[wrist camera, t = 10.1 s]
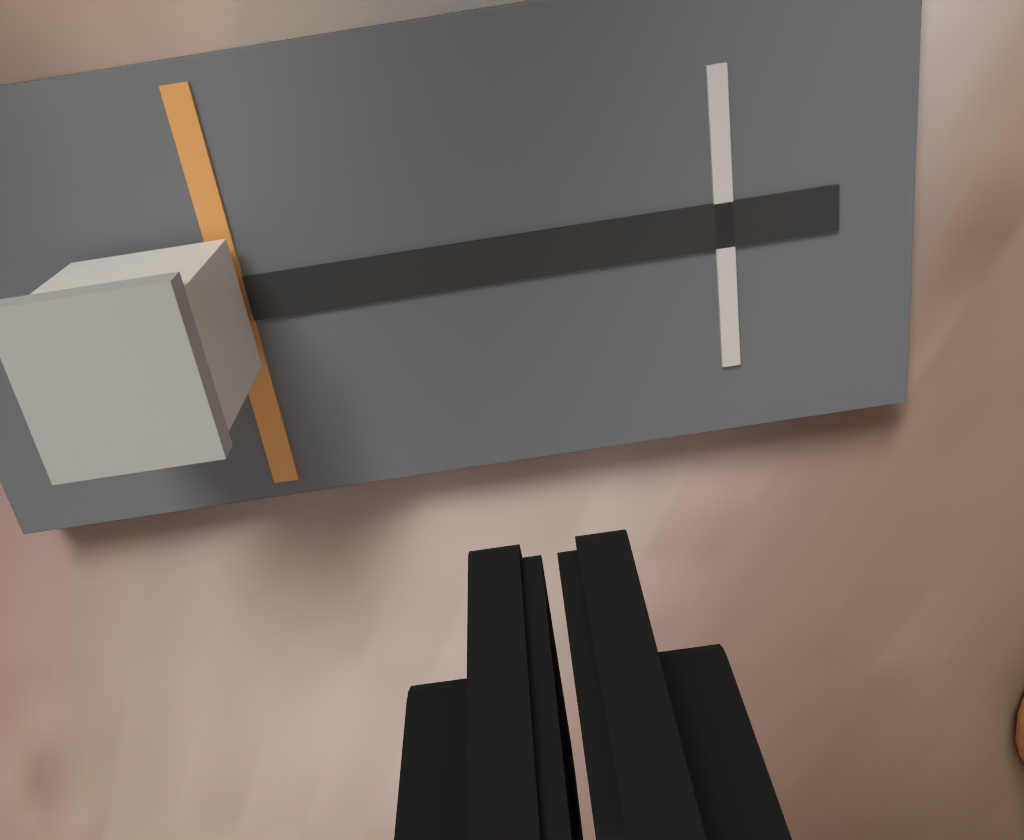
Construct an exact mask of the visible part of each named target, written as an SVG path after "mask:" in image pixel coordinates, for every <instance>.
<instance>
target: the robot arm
mask: <svg viewBox="0 0 1024 840" xmlns="http://www.w3.org/2000/svg"><path fill="white" fill-rule="evenodd" d="M575 539H576V547H577V550H574V551H567V552H560V553H557V555H558V562H559V570H560V577H561V584H562V592H563V599H564V606H565V614H566V621H567V629H568V636H569V643H570V651H571V658H572V666H573V673H574V680H575V688H576V695H577V702H578V710H579V717H580V725H581V732H582V739H583V747H584V754H585V762H586V769H587V776H588V784H589V791H590V798H591V806H592V813H593V821H594V828H595V835H596V840H792V838H791V836H790V833H789V830H788V827H787V824H786V821H785V819H784V816H783V813H782V810H781V807H780V805H779V802H778V799H777V796H776V793H775V790H774V788H773V785H772V782H771V779H770V776H769V774H768V771H767V768H766V765H765V762H764V759H763V757H762V754H761V751H760V748H759V745H758V743H757V740H756V737H755V734H754V731H753V728H752V726H751V723H750V720H749V717H748V714H747V712H746V709H745V706H744V703H743V700H742V697H741V695H740V692H739V689H738V686H737V683H736V680H735V678H734V675H733V672H732V669H731V666H730V664H729V661H728V658H727V656H726V653H725V651H724V649H723V647H722V646H721V645H720V644H716V645H708V646H701V647H694V648H686V649H679V650H672V651H664V652H658V651H657V647H656V643H655V639H654V635H653V631H652V627H651V624H650V620H649V616H648V612H647V608H646V604H645V600H644V597H643V593H642V589H641V585H640V581H639V577H638V573H637V569H636V566H635V562H634V558H633V554H632V550H631V546H630V542H629V539H628V535H627V532H626V530H618V531H611V532H604V533H597V534H590V535H583V536H576V537H575ZM394 840H583V834H582V826H581V817H580V809H579V801H578V793H577V784H576V776H575V768H574V761H573V754H572V747H571V740H570V734H569V727H568V721H567V715H566V708H565V702H564V696H563V689H562V683H561V677H560V670H559V664H558V658H557V651H556V645H555V639H554V632H553V626H552V620H551V613H550V607H549V601H548V595H547V588H546V582H545V576H544V569H543V563H542V557H541V555H539V556H532V557H525V558H522V554H521V549H520V545H512V546H505V547H498V548H491V549H483V550H476V551H470V552H469V555H468V624H467V679H459V680H452V681H445V682H437V683H430V684H423V685H415V686H411V687H410V689H409V691H408V697H407V704H406V715H405V726H404V737H403V748H402V759H401V770H400V781H399V792H398V803H397V814H396V825H395V836H394Z"/></svg>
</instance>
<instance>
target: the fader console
mask: <svg viewBox="0 0 1024 840" xmlns="http://www.w3.org/2000/svg"><path fill="white" fill-rule="evenodd" d="M921 6H922V0H531V1H525V2H518V3H512V4H506V5H500V6H493V7H487V8H481V9H475V10H469V11H462V12H456V13H450V14H444V15H437V16H431V17H425V18H419V19H412V20H406V21H400V22H394V23H388V24H381V25H375V26H369V27H363V28H356V29H350V30H344V31H338V32H332V33H325V34H319V35H313V36H307V37H300V38H294V39H288V40H282V41H275V42H269V43H263V44H257V45H251V46H244V47H238V48H232V49H226V50H219V51H213V52H207V53H201V54H194V55H188V56H182V57H176V58H170V59H163V60H157V61H151V62H145V63H138V64H132V65H126V66H120V67H114V68H107V69H101V70H95V71H89V72H82V73H76V74H70V75H64V76H57V77H51V78H45V79H39V80H33V81H26V82H20V83H14V84H8V85H1V86H0V299H5V298H12V297H18V296H24V295H29V294H31V293H32V292H33V291H35V290H36V289H37V288H39V287H40V286H41V285H43V284H44V283H45V282H47V281H48V280H49V279H50V278H52V277H53V276H54V275H56V274H57V273H58V272H60V271H61V270H62V269H64V268H65V267H66V266H68V265H69V264H70V263H74V262H80V261H87V260H93V259H99V258H106V257H112V256H119V255H125V254H131V253H138V252H144V251H151V250H157V249H163V248H170V247H176V246H183V245H189V244H195V243H202V242H208V241H215V240H221V239H226V240H227V243H228V247H229V250H230V254H231V257H232V261H233V264H234V268H235V272H236V275H237V279H238V282H239V286H240V289H241V293H242V296H243V300H244V304H245V307H246V311H247V314H248V318H249V321H250V325H251V328H252V332H253V336H254V339H255V343H256V346H257V350H258V353H259V357H260V360H261V364H262V367H261V369H260V371H259V373H258V375H257V377H256V379H255V380H254V382H253V384H252V386H251V388H250V390H249V392H248V394H247V396H246V398H245V400H244V402H243V404H242V406H241V408H240V410H239V412H238V414H237V416H236V418H235V420H234V422H233V424H232V426H231V428H230V430H229V434H230V437H231V441H232V444H233V446H232V448H231V450H230V452H229V454H228V456H227V458H226V459H223V460H216V461H210V462H203V463H197V464H190V465H183V466H177V467H170V468H163V469H157V470H150V471H144V472H137V473H130V474H124V475H117V476H111V477H104V478H97V479H91V480H84V481H77V482H71V483H64V484H58V485H52V483H51V481H50V479H49V476H48V474H47V471H46V469H45V466H44V464H43V461H42V459H41V457H40V454H39V452H38V449H37V447H36V444H35V442H34V439H33V437H32V435H31V432H30V430H29V427H28V425H27V422H26V420H25V417H24V415H23V413H22V410H21V408H20V405H19V403H18V400H17V398H16V395H15V393H14V391H13V388H12V386H11V383H10V381H9V378H8V376H7V373H6V371H5V369H4V366H3V364H2V361H1V359H0V481H1V484H2V486H3V488H4V491H5V493H6V495H7V497H8V500H9V502H10V504H11V507H12V509H13V511H14V514H15V516H16V518H17V520H18V523H19V525H20V527H21V530H22V532H23V534H29V533H35V532H42V531H49V530H55V529H62V528H69V527H75V526H82V525H89V524H95V523H102V522H109V521H115V520H122V519H129V518H135V517H142V516H149V515H155V514H162V513H169V512H175V511H182V510H189V509H195V508H202V507H209V506H215V505H222V504H229V503H235V502H242V501H249V500H255V499H262V498H269V497H275V496H282V495H289V494H295V493H302V492H309V491H315V490H322V489H329V488H335V487H342V486H349V485H355V484H362V483H369V482H375V481H382V480H389V479H395V478H402V477H409V476H415V475H422V474H429V473H435V472H442V471H449V470H455V469H462V468H469V467H475V466H482V465H489V464H495V463H502V462H509V461H515V460H522V459H529V458H535V457H542V456H549V455H555V454H562V453H569V452H575V451H582V450H589V449H595V448H602V447H609V446H615V445H622V444H629V443H635V442H642V441H649V440H655V439H662V438H669V437H675V436H682V435H689V434H695V433H702V432H709V431H715V430H722V429H729V428H735V427H742V426H749V425H755V424H762V423H769V422H775V421H782V420H789V419H795V418H802V417H809V416H815V415H822V414H829V413H835V412H842V411H849V410H855V409H862V408H869V407H875V406H882V405H889V404H895V403H902V402H906V394H907V368H908V342H909V316H910V291H911V265H912V239H913V213H914V187H915V161H916V135H917V109H918V84H919V58H920V32H921Z"/></svg>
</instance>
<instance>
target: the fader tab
mask: <svg viewBox="0 0 1024 840" xmlns="http://www.w3.org/2000/svg"><path fill="white" fill-rule="evenodd" d="M0 359H1V361H2V364H3V366H4V369H5V371H6V373H7V376H8V378H9V381H10V383H11V386H12V388H13V391H14V393H15V395H16V398H17V400H18V403H19V405H20V408H21V410H22V413H23V415H24V417H25V420H26V422H27V425H28V427H29V430H30V432H31V435H32V437H33V439H34V442H35V444H36V447H37V449H38V452H39V454H40V457H41V459H42V461H43V464H44V466H45V469H46V471H47V474H48V476H49V479H50V481H51V483H52V485H58V484H64V483H71V482H77V481H84V480H91V479H97V478H104V477H111V476H117V475H124V474H130V473H137V472H144V471H150V470H157V469H163V468H170V467H177V466H183V465H190V464H197V463H203V462H210V461H216V460H223V459H226V458H227V456H228V454H229V452H230V450H231V448H232V446H233V444H232V441H231V437H230V434H229V430H230V428H231V426H232V424H233V422H234V420H235V418H236V416H237V414H238V412H239V410H240V408H241V406H242V404H243V402H244V400H245V398H246V396H247V394H248V392H249V390H250V388H251V386H252V384H253V382H254V380H255V379H256V377H257V375H258V373H259V371H260V369H261V367H262V364H261V360H260V357H259V353H258V350H257V346H256V343H255V339H254V336H253V332H252V328H251V325H250V321H249V318H248V314H247V311H246V307H245V304H244V300H243V296H242V293H241V289H240V286H239V282H238V279H237V275H236V272H235V268H234V264H233V261H232V257H231V254H230V250H229V247H228V243H227V240H226V239H221V240H215V241H208V242H202V243H195V244H189V245H183V246H176V247H170V248H163V249H157V250H151V251H144V252H138V253H131V254H125V255H119V256H112V257H106V258H99V259H93V260H87V261H80V262H74V263H70V264H69V265H68V266H66V267H65V268H64V269H62V270H61V271H60V272H58V273H57V274H56V275H54V276H53V277H52V278H50V279H49V280H48V281H47V282H45V283H44V284H43V285H41V286H40V287H39V288H37V289H36V290H35V291H33V292H32V293H31V294H29V295H24V296H18V297H12V298H5V299H0Z"/></svg>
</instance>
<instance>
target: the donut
mask: <svg viewBox="0 0 1024 840" xmlns="http://www.w3.org/2000/svg"><path fill="white" fill-rule="evenodd" d="M1015 740H1016V744H1017V748H1018V751H1019V755H1020V757H1021V758H1022V760H1023V762H1024V696H1023V699H1022V702H1021V705H1020V708H1019V710H1018V713H1017V725H1016V738H1015Z"/></svg>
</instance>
